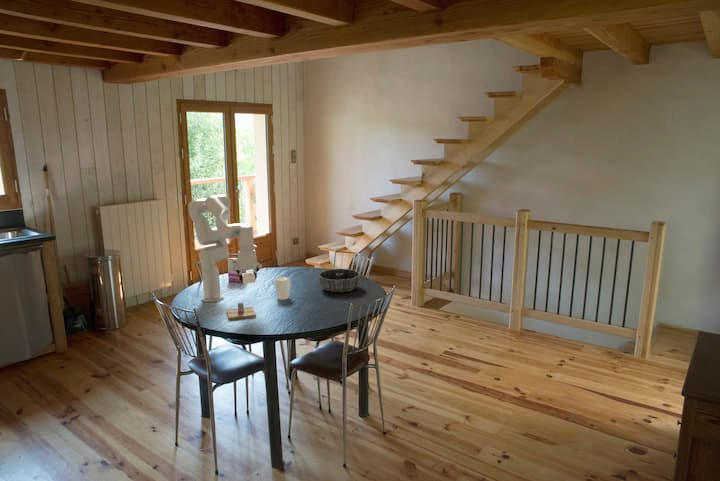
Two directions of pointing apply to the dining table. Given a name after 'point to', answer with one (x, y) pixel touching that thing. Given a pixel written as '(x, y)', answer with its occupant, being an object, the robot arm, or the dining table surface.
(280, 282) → the cup
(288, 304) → the dining table surface
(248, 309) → the shaft block
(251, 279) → the knob
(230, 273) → the candy bar box
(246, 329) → the dining table surface
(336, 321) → the dining table surface
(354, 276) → the bundt pan
